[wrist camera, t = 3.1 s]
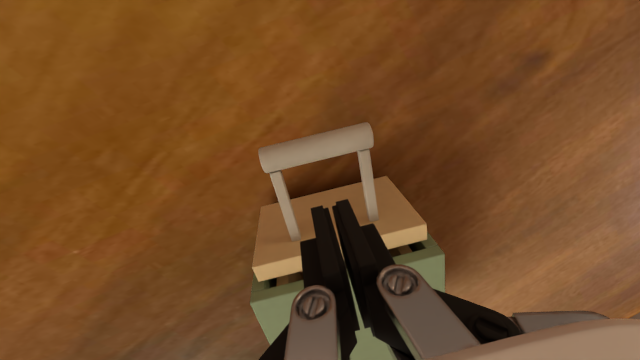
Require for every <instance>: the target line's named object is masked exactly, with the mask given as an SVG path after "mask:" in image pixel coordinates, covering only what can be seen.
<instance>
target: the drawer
mask: <svg viewBox="0 0 640 360" xmlns="http://www.w3.org/2000/svg"><path fill="white" fill-rule="evenodd" d="M373 145H374V138H373V132H372V129H371V126H370V125H369V123H368V122H365V123H361V124H357V125H352V126H348V127H344V128H340V129H336V130H332V131H328V132H324V133H320V134H315V135H311V136H307V137H303V138H299V139H295V140H291V141H287V142H283V143H278V144H274V145H270V146H266V147H262V148H260V149H259V158H260V162H261V165H262V168H263V170H264V172H265V173H270V177H271V180H272V183H273V186H274V189H275V192H276V195H277V198H278V201H279V202H278V203H274V204H270V205H266V206H262V207H261V211H260V218H259V225H258V232H257V238H256V245H255V252H254V259H253V266H252V268H253V271H254V273H255V275H256V278H257V280H258V282H260V281H264V280H268V279H272V278H276V277H277V286H280V285H284V284H288V283H292V282H296V281H300V280H303V272H302V261H301V250H300V242H301V241H305V240H309V239H313V238H316V236H315V230H314V225H313V219H312V214H311V208H313V207H317V206H321V205H323V208H327V207H328V209H329V212H330V215H331V219H332V222H333V226H334V229H335V232H336V236H337V239H338V242H339V246H340V249H341V245H340V241H339V236H338V232H337V228H336V223H335V219H334V214H333V210H332V206H335V205H336V202H337V201H341V200H345V199H348V200H349V202H350V205H351V207H352V209H353V211H354V213H355V216H356V218H357V220H358V222H359V225H360V226H364V225H368V224H372V223H373V224H374V225H375V226H376V228H377V230H378V232H379V234H380V236H381V237H382V239H383V241H384V243H385V245H386V247H387V249H388V250H389V252H390V254H391V256H392V257H395V256H399V255H403V254H407V253H411V252H412V250H411V249H410V247H409V246H408V244H411V243H415V242H419V241H423V240H427V224H426V222H425V221H424V220H423V219H422V218H421V216H420V215H419V214H418V213H417V212H416V210H415V209H414V208H413V207H412V206H411V204H410V203H409V202H408V201H407V200H406V198H405V197H404V196H403V195H402V194H401V192H400V191H399V190H398V189H397V188H396V186H395V185H394V184H393V183H392V182H391V180H390V179H389V178H388V177H387V176H384V177H380V178H376V179H373V172H372V164H371V157H370V150H369V149H368V148H372V147H373ZM356 151H357V154H358V160H359V166H360V172H361V179H362V182H359V183H355V184H351V185H347V186H343V187H339V188H335V189H331V190H327V191H323V192H319V193H315V194H311V195H307V196H303V197H299V198H295V199H291V200H290V197H289V194H288V191H287V187H286V184H285V181H284V178H283V174H282V171H281V170H282V169H286V168H291V167H295V166H299V165H303V164H307V163H311V162H315V161H319V160H323V159H327V158H331V157H335V156H340V155H344V154H348V153H352V152H356ZM341 252H342V250H341ZM342 256H343V254H342ZM343 259H344V258H343ZM344 262H345V261H344ZM345 266H346V265H345ZM346 269H347V268H346Z"/></svg>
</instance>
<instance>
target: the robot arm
mask: <svg viewBox="0 0 640 360" xmlns="http://www.w3.org/2000/svg"><path fill="white" fill-rule="evenodd" d="M332 210H333V214H334V219H335V223H336V228H337V232H338V236H339V241H340V245H341V249H340V246H339V242H338V239H337V236H336V232H335V229H334V226H333V222H332V219H331V215H330V212H329V209H328V207H327V208H323V205H321V206H317V207H313V208H311V214H312V219H313V225H314V230H315V236H316V238H313V239H309V240H305V241H301V242H300V250H301V261H302V272H303V283H304V289H303V290H301V291H300V292H299V293H298V294H297V295H296V297H295V298H294V300H293V302H292V305H291V312H290V320H289V324H288V325H287V326H286V327H285V328H284V330H283V331H282V332H281V333H280V334H279V336H278V337H277V338H276V339H275V340H274V342H273V343H272V344H271V345H270V347H269V348H268V349H267V350H266V351H265V353H264V354H263V355H262V356H261V357H260V359H259V360H351V356H350V354H351V353H352V351H353V349H354V348H355V346H356V344H357V338H356V334H355V331H358V330H360V326H359V322H358V318H357V313H356V309H355V304H354V300H353V295H352V291H351V287H350V282H349V278H350V281H351V285H352V288H353V291H354V295H355V298H356V301H357V305H358V308H359V311H360V315H361V318H362V321H363V325H364V328H365V329H366V328H371V332H372V335H373V337H375V338H377V339H379V340H381V341H383V342H384V343H386V344H387V347H388V350H389V352H390V354H391V356H392V358H393V360H640V320H639V319H610V318H608V317H606V316H604V315H601V314H598V313H595V312H591V311H554V312H524V313H513V315H512V317H506V316H505V315H503V314H500V313H498V312H496V311H494V310H491V309H488V308H486V307H483V306H480V305H477V304H475V303H472V302H469V301H466V300H464V299H461V298H458V297H455V296H453V295H450V294H447V293H444V292H441V291H439V290H436V289H433V288H432V287H431V286H430V285H429V284H428V283H427V282H426V280H425V279H424V278H423V277H422V276H421V275H420V273H419V272H417V271H416V270H415V269H414V268H411V267H409V266H406V265H402V264H396V263H395V261H394V260H393V258H392V256H391V254H390V252H389V250H388V249H387V247H386V245H385V243H384V241H383V239H382V237H381V236H380V234H379V232H378V230H377V228H376V226H375V225H374V224H373V223H372V224H368V225H364V226H360V225H359V222H358V220H357V218H356V216H355V213H354V211H353V209H352V207H351V205H350V202H349V200H348V199H345V200H341V201H337V202H336V205H335V206H332ZM341 250H342V252H341ZM342 254H343V256H342ZM343 258H344V259H343ZM344 261H345V262H344ZM345 265H346V266H345ZM346 268H347V270H346ZM347 271H348V273H347ZM348 275H349V278H348Z"/></svg>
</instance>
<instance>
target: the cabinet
mask: <svg viewBox="0 0 640 360" xmlns="http://www.w3.org/2000/svg"><path fill="white" fill-rule="evenodd" d="M408 246H409V247H410V249H411V250H412V252H411V253H407V254H403V255H399V256H395V257H392V258H393V260H394V261H395V263H396V264H402V265H406V266H409V267H411V268H414V269H415V270H416V271H417V272H419V273H420V275H421V276H422V277H423V278H424V279H425V280H426V282H427V283H428V284H429V285H430V286H431V287H432V288H433V289H436V290H439V291H441V292H444V293H445V254H444V252H443V251H442V250H441V248H440V247H439V246H438V244H437V243H436V242H435V241H434V239H433V238H432V237H431V236H430V234H429V233H428V232H427V240H423V241H419V242H415V243H411V244H408ZM346 270H347V269H346ZM347 273H348V271H347ZM348 278H349V275H348ZM349 282H350V287H351V291H352V295H353V300H354V304H355V309H356V313H357V318H358V322H359V326H360V330H358V331H355V334H356V338H357V344H356V346H355V348H354V349H353V351H352V353H351V354H350V356H351V360H393V358H392V356H391V354H390V352H389V350H388V347H387V344H386V343H384V342H383V341H381V340H379V339H377V338H375V337H373V335H372V332H371V328H366V329H365V328H364V325H363V321H362V318H361V315H360V311H359V308H358V305H357V301H356V298H355V295H354V291H353V288H352V285H351V281H350V278H349ZM303 289H304V283H303V280H300V281H296V282H292V283H288V284H284V285H280V286H277V277H276V278H272V279H268V280H264V281H260V282H258V280H257V278H256V275H255V273H254V276H253V283H252V291H251V292H252V293H251V299H250V304H251V306H252V309H253V311H254V313H255V315H256V317H257V319H258V321H259V323H260V325H261V327H262V329H263V331H264V333H265V335H266V338H267V340H268V342H269V344H270V345H271V344H272V343H273V342H274V340H275V339H276V338H277V337H278V336H279V334H280V333H281V332H282V331H283V330H284V328H285V327H286V326H287V325H288V324H289V320H290V312H291V305H292V302H293V300H294V298H295V297H296V295H297V294H298V293H299V292H300V291H301V290H303Z"/></svg>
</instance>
